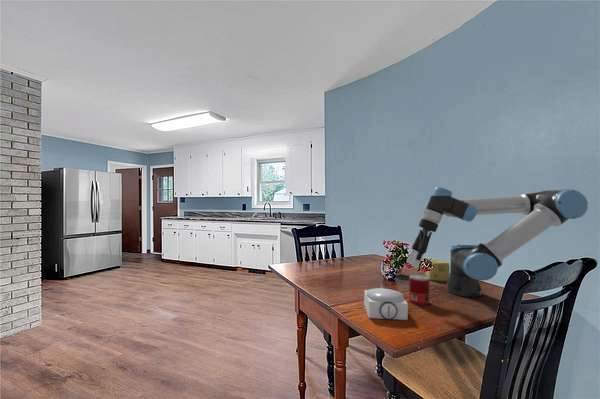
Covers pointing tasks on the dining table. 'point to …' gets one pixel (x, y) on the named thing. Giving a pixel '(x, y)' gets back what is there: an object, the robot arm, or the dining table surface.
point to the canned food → (419, 289)
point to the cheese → (439, 271)
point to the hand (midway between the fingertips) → (411, 264)
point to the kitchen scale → (385, 304)
